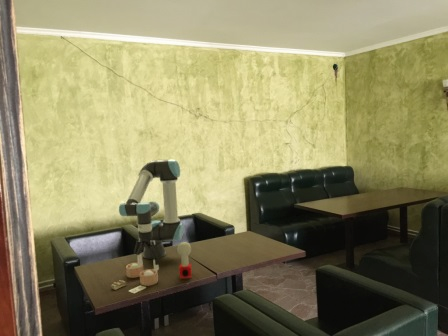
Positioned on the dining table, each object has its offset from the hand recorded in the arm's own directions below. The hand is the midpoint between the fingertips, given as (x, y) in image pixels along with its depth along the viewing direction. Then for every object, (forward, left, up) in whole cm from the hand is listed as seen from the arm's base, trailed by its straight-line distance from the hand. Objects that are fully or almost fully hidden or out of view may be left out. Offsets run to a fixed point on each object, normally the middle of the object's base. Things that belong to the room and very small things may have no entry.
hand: (148, 268), depth 205 cm
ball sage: (-16, +3, -5) cm, 17 cm away
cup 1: (-16, +3, -8) cm, 18 cm away
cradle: (-10, -13, -8) cm, 18 cm away
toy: (+12, +17, -8) cm, 22 cm away
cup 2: (0, 0, -8) cm, 8 cm away
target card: (+2, -10, -8) cm, 13 cm away
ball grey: (0, 0, -5) cm, 5 cm away
